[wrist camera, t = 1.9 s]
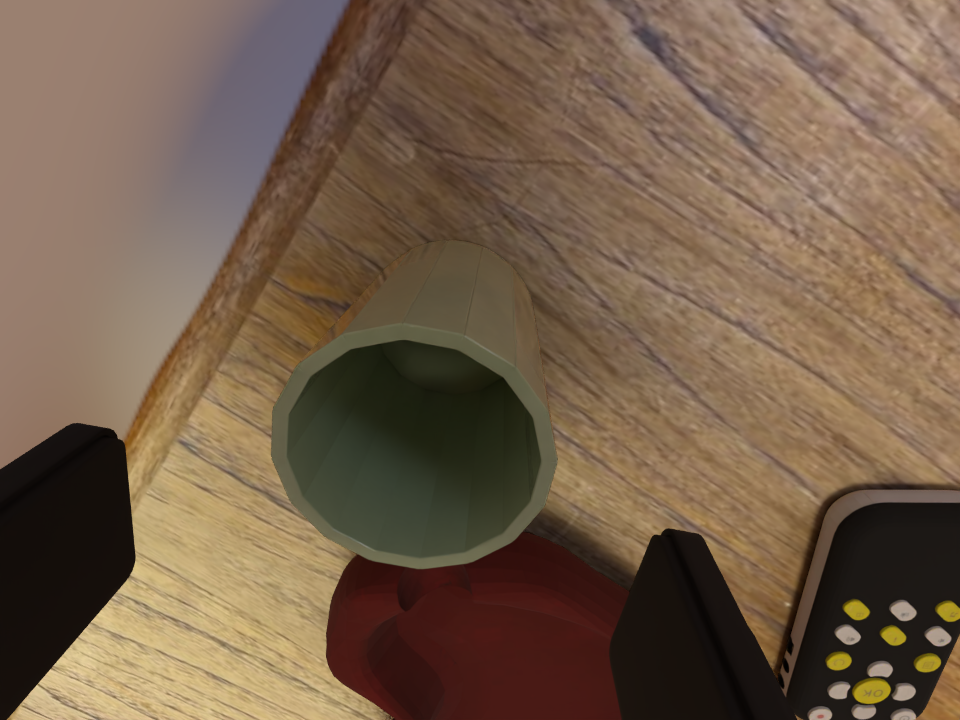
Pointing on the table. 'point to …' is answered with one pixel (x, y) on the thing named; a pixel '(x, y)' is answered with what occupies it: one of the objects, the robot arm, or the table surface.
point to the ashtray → (479, 636)
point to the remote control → (877, 607)
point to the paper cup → (422, 414)
